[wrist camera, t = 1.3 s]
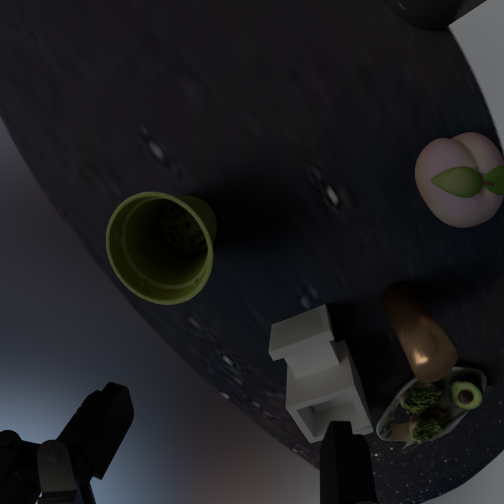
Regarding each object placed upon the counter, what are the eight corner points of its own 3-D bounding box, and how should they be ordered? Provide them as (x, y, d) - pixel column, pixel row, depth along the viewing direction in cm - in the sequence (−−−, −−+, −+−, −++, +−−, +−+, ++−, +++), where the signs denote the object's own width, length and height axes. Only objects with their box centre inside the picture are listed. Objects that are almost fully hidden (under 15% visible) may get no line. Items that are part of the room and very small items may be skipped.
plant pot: (189, 283, 34) (160, 323, 26) (132, 220, 32) (88, 243, 24) (252, 230, 31) (238, 260, 23) (189, 160, 29) (153, 165, 21)
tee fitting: (328, 302, 33) (337, 345, 25) (370, 403, 37) (379, 447, 29) (268, 325, 34) (262, 371, 27) (322, 419, 39) (324, 463, 31)
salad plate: (434, 446, 40) (440, 464, 36) (352, 441, 41) (355, 463, 36) (498, 367, 34) (510, 385, 29) (417, 352, 34) (428, 374, 30)
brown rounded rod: (409, 276, 31) (455, 336, 19) (416, 305, 31) (458, 369, 20) (376, 290, 32) (411, 358, 20) (386, 318, 32) (418, 389, 21)
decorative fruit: (409, 223, 29) (453, 256, 19) (390, 145, 27) (435, 145, 17) (478, 202, 27) (534, 225, 17) (464, 128, 25) (522, 127, 15)
